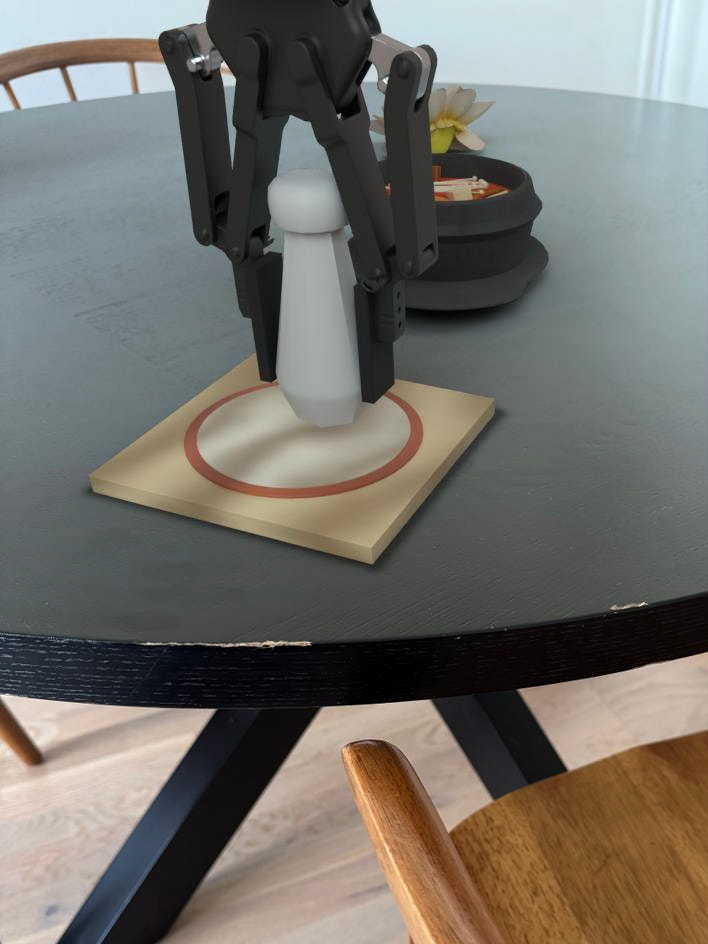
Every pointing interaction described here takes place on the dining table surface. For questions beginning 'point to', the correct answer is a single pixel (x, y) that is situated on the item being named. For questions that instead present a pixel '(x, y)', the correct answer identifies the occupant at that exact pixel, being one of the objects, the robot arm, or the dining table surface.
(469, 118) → the decorative flower
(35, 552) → the dining table surface
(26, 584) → the dining table surface
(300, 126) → the dining table surface
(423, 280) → the casserole
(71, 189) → the dining table surface
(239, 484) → the board
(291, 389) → the salt shaker
